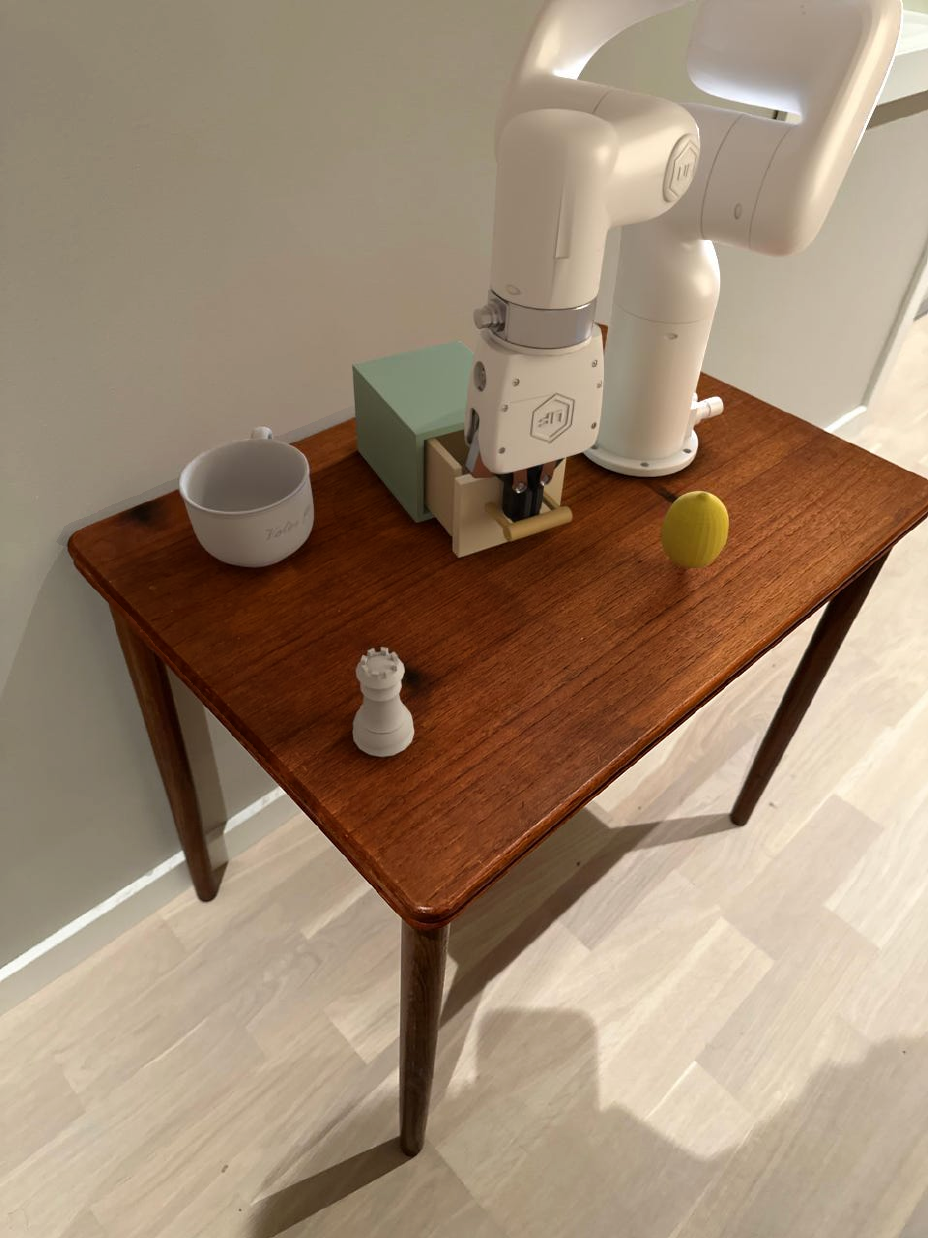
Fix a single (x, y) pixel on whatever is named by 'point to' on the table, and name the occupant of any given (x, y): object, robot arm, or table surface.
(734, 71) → the robot arm
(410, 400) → the cabinet
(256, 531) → the teacup
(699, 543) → the lemon
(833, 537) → the table surface
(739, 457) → the table surface
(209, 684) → the table surface
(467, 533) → the drawer
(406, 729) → the rook chess piece
